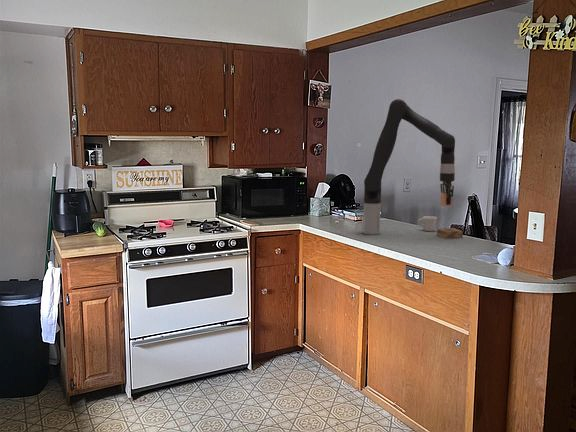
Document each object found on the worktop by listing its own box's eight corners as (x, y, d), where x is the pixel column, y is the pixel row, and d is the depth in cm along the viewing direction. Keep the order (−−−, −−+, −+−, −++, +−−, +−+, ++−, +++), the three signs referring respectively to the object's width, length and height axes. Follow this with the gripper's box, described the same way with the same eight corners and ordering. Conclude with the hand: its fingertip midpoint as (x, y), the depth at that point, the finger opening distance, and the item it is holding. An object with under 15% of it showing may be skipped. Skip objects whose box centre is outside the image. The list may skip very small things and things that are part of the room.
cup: (415, 230, 310) (416, 217, 309) (419, 228, 317) (419, 215, 316) (434, 232, 305) (435, 218, 304) (437, 230, 312) (438, 216, 311)
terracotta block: (443, 206, 286) (443, 193, 285) (440, 205, 291) (440, 192, 290) (452, 206, 286) (453, 192, 285) (449, 204, 291) (449, 192, 290)
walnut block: (444, 239, 287) (445, 231, 287) (436, 235, 297) (437, 228, 296) (462, 238, 289) (462, 231, 288) (454, 235, 298) (454, 228, 298)
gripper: (435, 171, 293) (435, 202, 295) (445, 173, 279) (444, 205, 281) (449, 171, 293) (448, 202, 296) (459, 172, 279) (458, 205, 282)
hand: (446, 203), depth 288 cm, fingers closed on terracotta block, 5 cm apart
